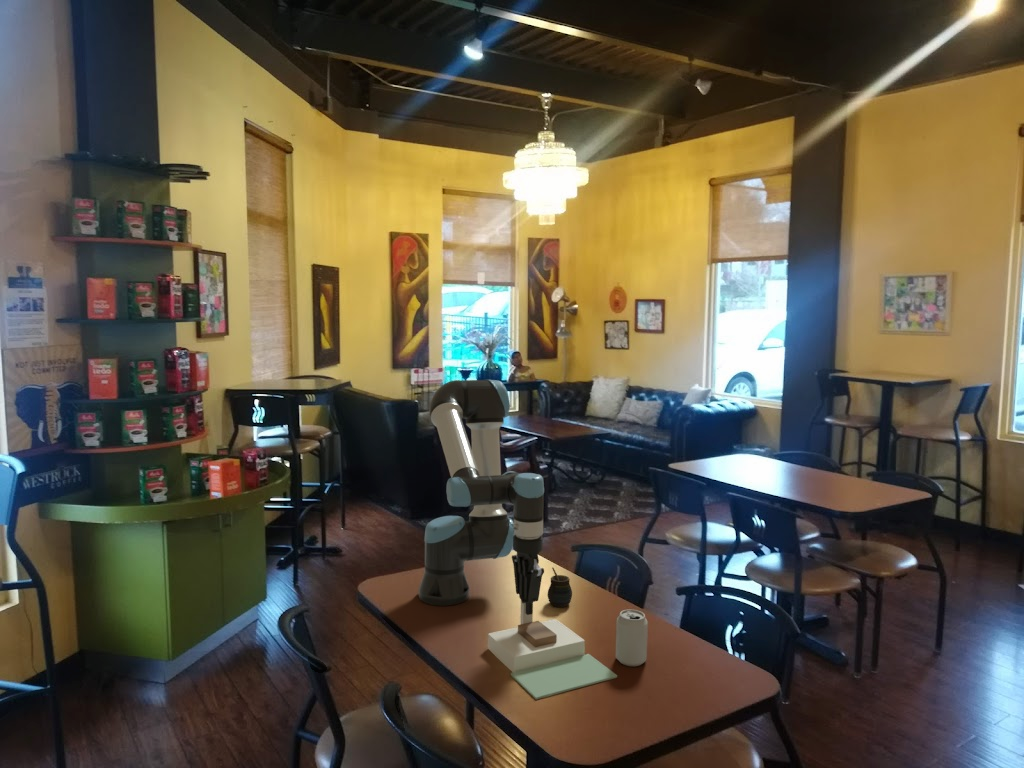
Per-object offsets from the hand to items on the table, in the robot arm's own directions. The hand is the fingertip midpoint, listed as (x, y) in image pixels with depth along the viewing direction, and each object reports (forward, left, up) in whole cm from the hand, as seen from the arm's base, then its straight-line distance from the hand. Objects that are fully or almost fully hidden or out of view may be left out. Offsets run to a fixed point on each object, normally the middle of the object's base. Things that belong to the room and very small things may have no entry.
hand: (526, 624), depth 185 cm
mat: (+18, 0, -5) cm, 19 cm away
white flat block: (+5, 0, -5) cm, 7 cm away
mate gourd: (-18, +21, -6) cm, 28 cm away
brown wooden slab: (+5, 0, -1) cm, 5 cm away
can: (+19, +19, -6) cm, 27 cm away
